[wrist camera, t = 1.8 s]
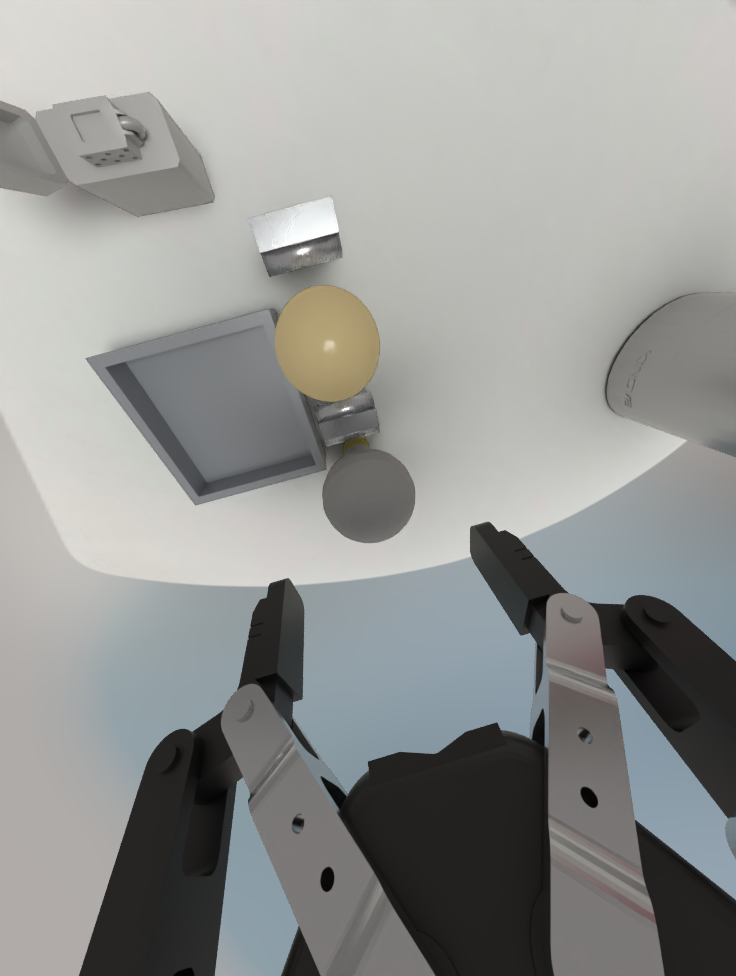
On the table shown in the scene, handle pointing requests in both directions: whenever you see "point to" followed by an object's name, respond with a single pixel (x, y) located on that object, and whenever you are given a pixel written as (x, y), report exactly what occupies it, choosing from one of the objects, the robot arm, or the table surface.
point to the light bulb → (368, 493)
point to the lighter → (104, 153)
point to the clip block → (304, 243)
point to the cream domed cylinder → (327, 343)
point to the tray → (216, 406)
